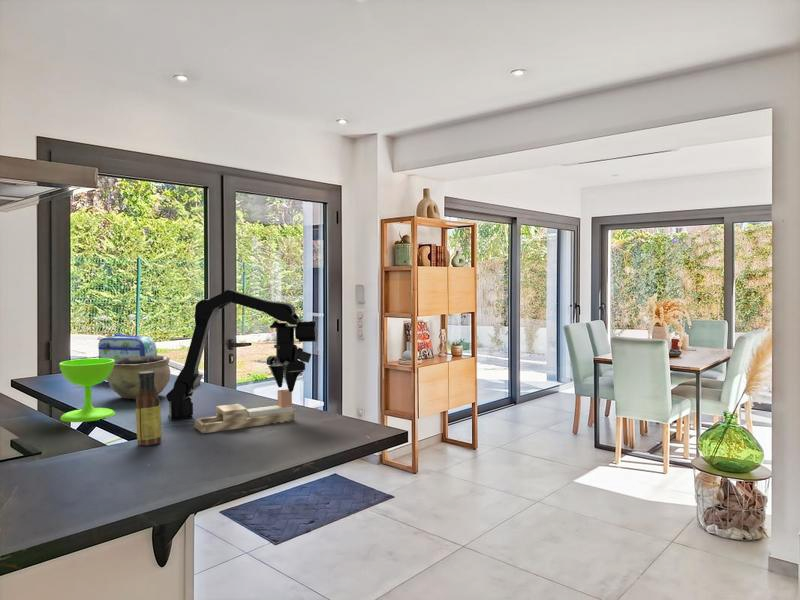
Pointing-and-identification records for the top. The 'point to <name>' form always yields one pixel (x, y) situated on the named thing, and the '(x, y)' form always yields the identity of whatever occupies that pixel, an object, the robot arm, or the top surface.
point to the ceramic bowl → (127, 374)
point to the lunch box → (126, 347)
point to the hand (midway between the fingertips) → (285, 389)
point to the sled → (282, 406)
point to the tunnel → (236, 419)
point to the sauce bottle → (148, 411)
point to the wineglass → (87, 386)
